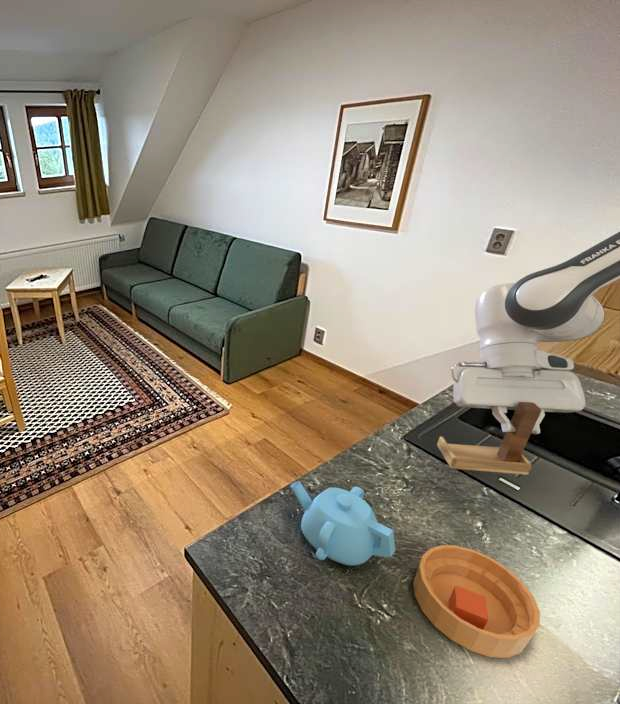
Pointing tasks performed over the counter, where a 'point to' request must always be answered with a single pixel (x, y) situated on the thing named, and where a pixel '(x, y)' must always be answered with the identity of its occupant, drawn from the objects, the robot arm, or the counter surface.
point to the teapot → (343, 526)
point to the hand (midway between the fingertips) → (521, 432)
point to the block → (469, 606)
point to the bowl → (484, 579)
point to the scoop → (501, 457)
